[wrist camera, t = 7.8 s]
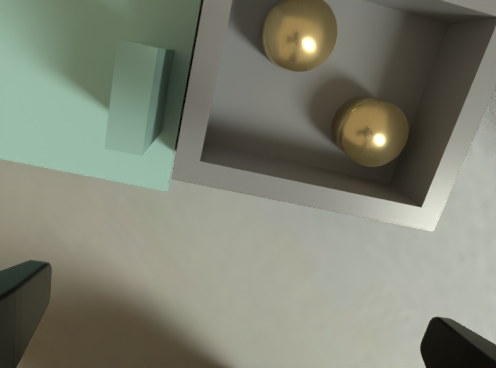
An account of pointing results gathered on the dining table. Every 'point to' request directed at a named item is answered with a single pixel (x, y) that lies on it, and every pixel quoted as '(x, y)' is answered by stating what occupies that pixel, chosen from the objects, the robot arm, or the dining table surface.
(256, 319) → the dining table surface
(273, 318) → the dining table surface
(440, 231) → the dining table surface
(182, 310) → the dining table surface
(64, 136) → the lid
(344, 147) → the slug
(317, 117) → the tub
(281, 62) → the ball
